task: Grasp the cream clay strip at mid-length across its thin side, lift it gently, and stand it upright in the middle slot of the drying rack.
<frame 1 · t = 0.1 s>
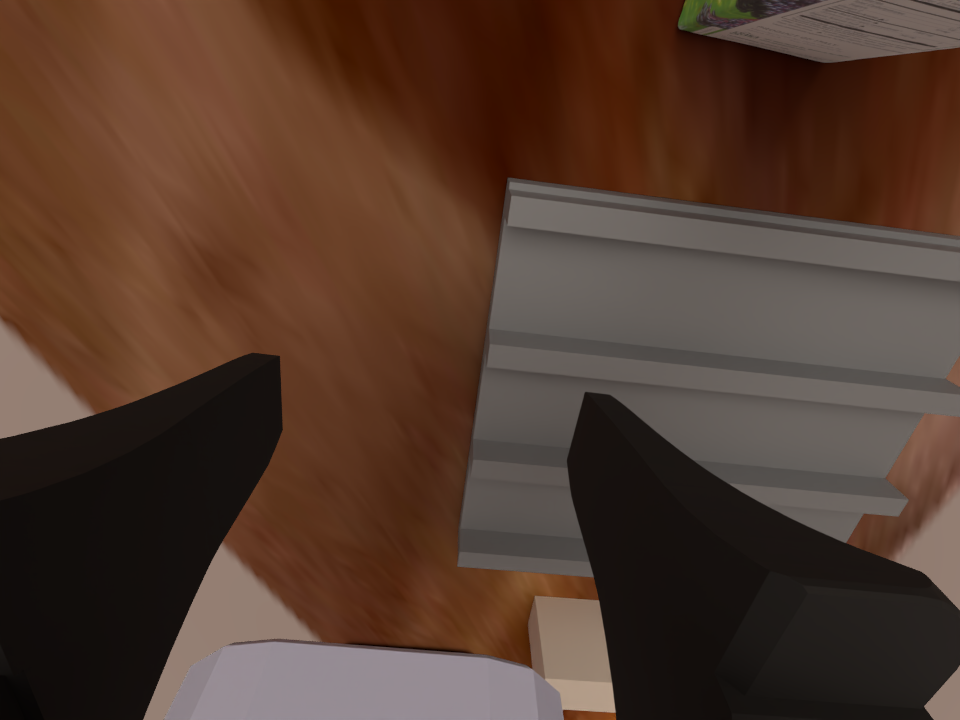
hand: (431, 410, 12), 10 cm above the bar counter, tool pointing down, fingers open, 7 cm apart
clay strip: (644, 615, 31), on the bar counter
drying rack: (689, 405, 24), on the bar counter
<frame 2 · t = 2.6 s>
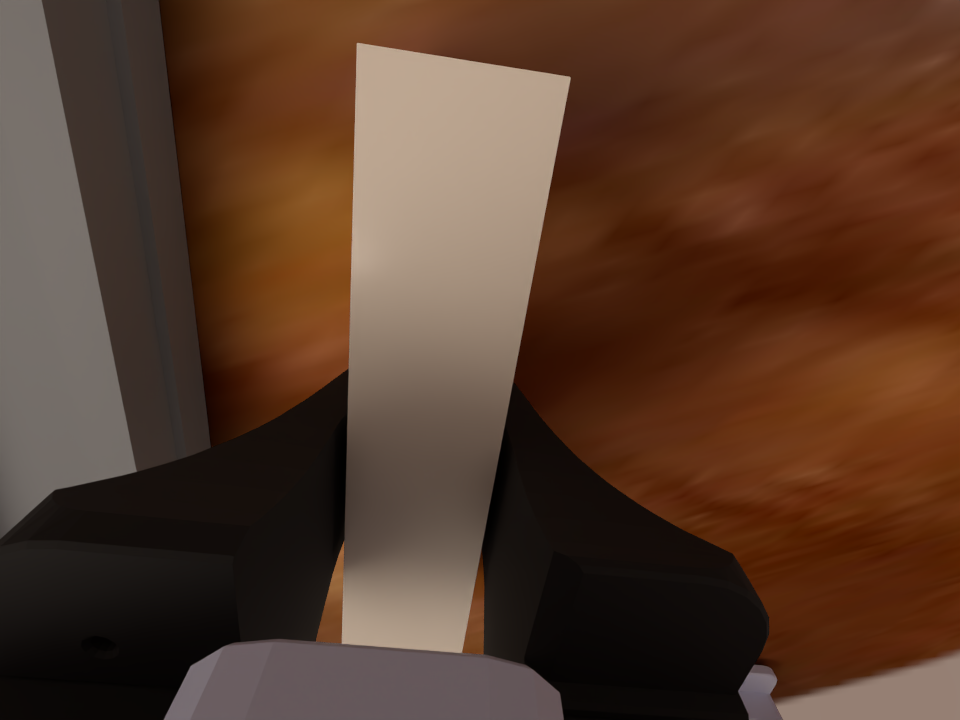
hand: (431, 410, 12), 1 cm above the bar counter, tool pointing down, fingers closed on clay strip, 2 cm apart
clay strip: (435, 379, 13), on the bar counter, touching gripper
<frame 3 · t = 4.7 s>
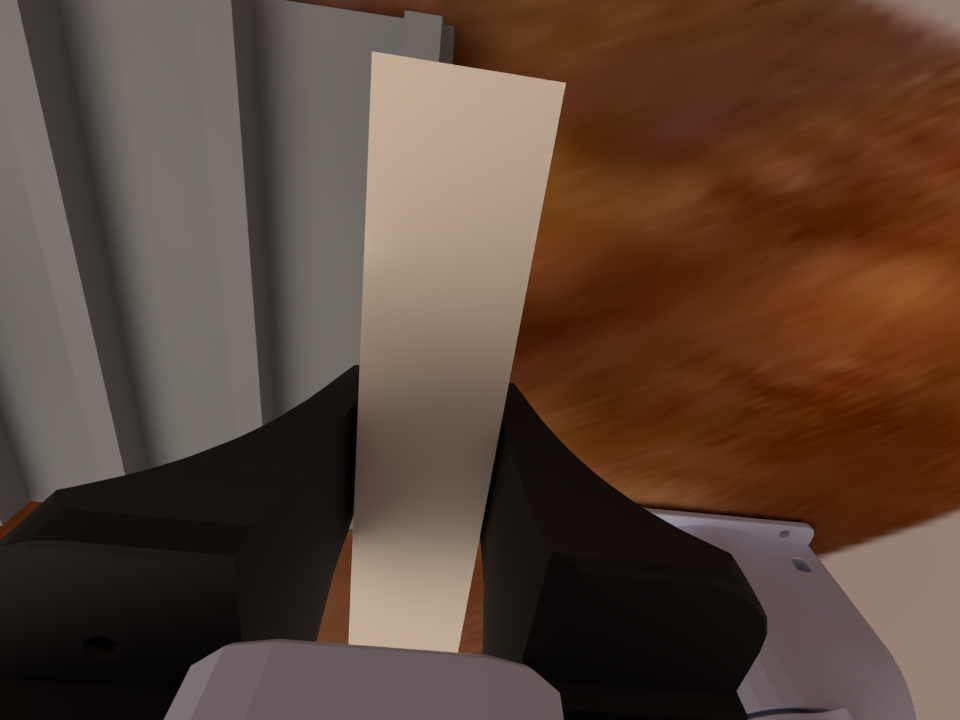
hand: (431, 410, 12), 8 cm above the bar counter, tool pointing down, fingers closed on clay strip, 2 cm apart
clay strip: (437, 368, 14), point 6 cm above the bar counter, touching gripper
drying rack: (197, 299, 20), on the bar counter
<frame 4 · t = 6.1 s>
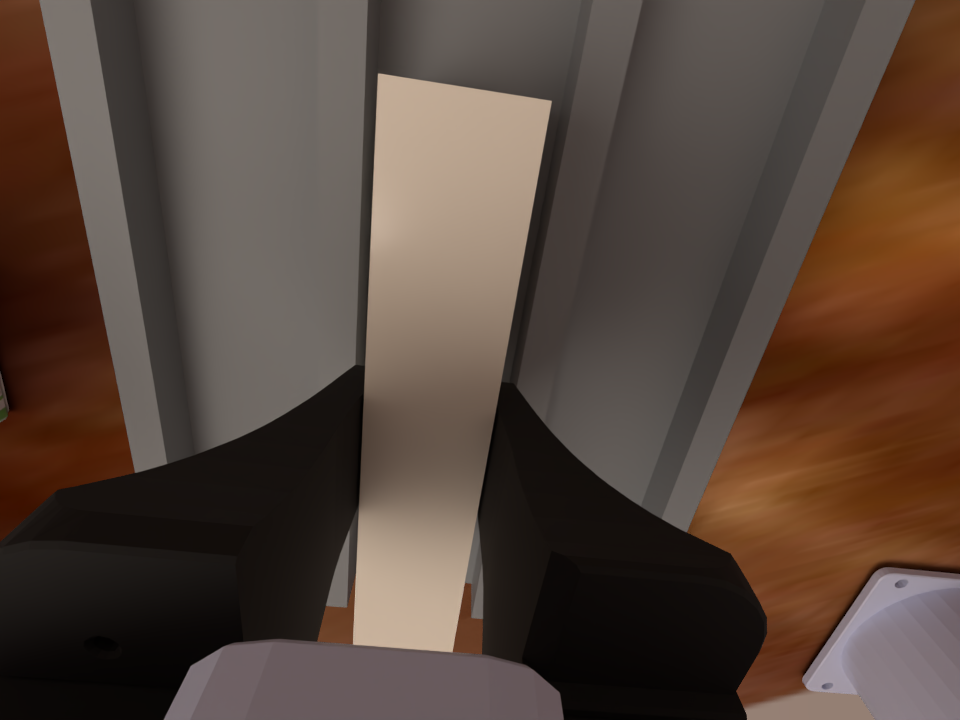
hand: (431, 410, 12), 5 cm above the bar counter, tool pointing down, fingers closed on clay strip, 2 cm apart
clay strip: (437, 362, 15), point 2 cm above the bar counter, touching gripper
drying rack: (443, 331, 16), on the bar counter
when the fingers open (4 cm above the bar counter, at t = 6.7 s): clay strip stays where it is, resting on drying rack.
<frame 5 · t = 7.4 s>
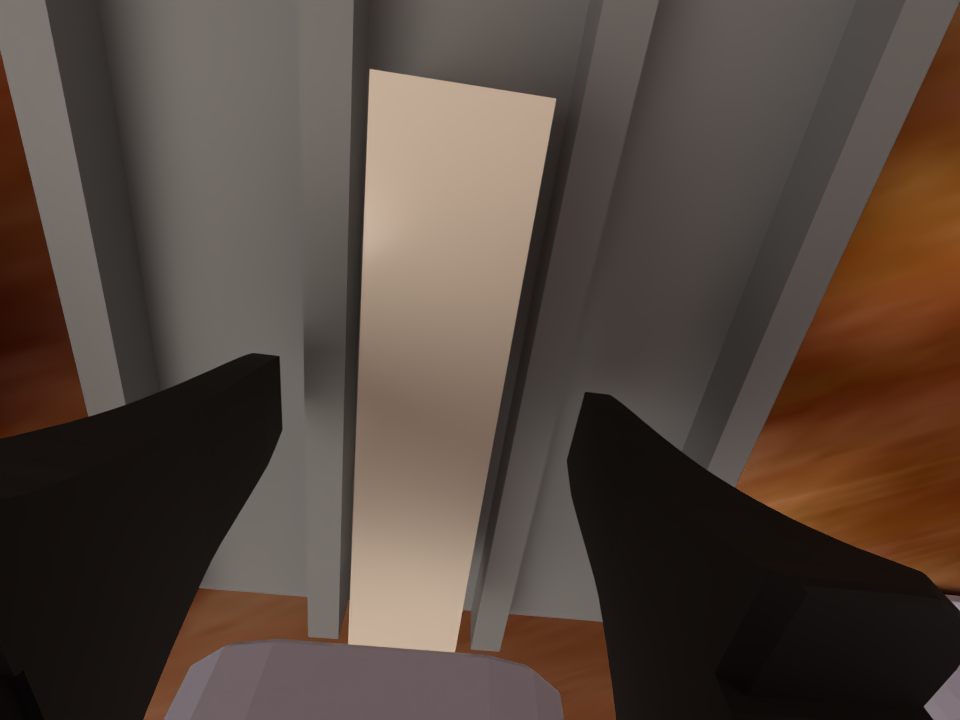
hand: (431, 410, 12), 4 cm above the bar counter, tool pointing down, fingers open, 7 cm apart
clay strip: (436, 371, 14), point 1 cm above the bar counter, touching drying rack
drying rack: (440, 346, 15), on the bar counter
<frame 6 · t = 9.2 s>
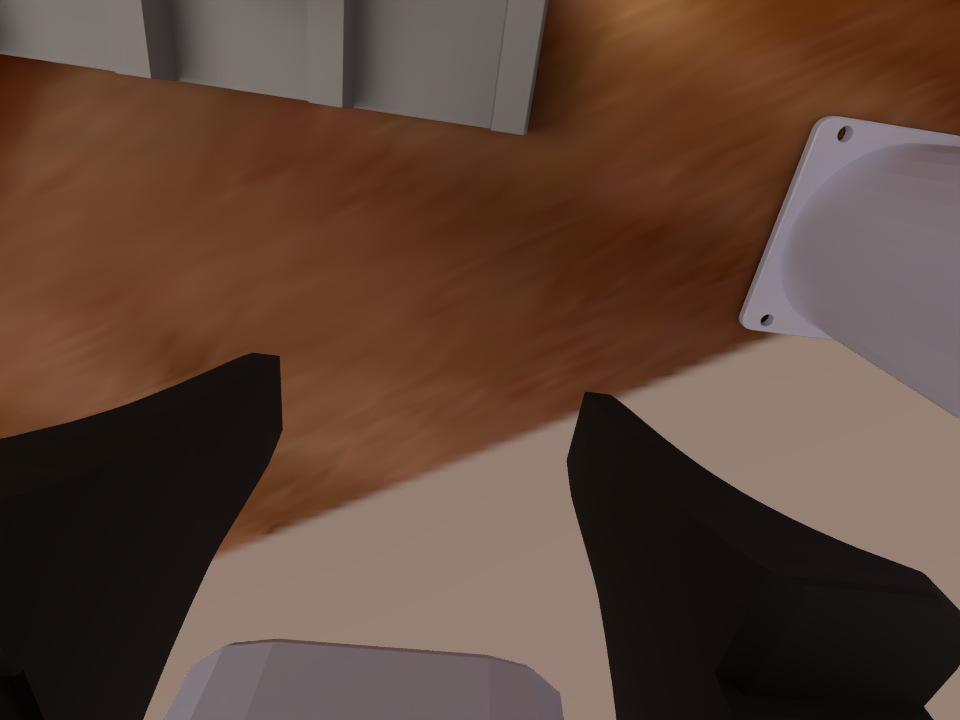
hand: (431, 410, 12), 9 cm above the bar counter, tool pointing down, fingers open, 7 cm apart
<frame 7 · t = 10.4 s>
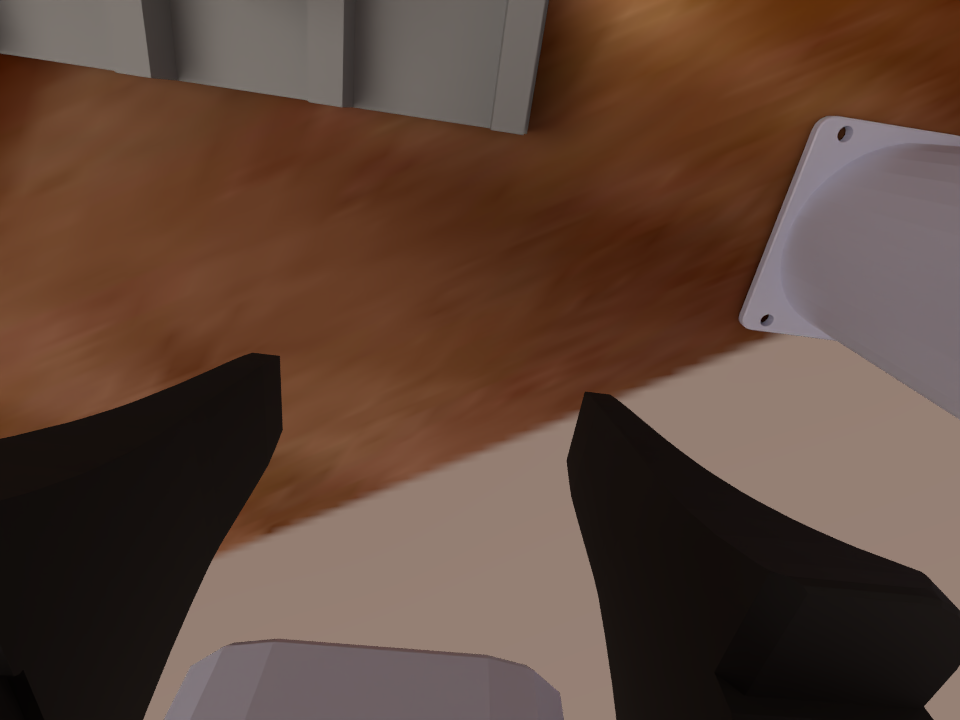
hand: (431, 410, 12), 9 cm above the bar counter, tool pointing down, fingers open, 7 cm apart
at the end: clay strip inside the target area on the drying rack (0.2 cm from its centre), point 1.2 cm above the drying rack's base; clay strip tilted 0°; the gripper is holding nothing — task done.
